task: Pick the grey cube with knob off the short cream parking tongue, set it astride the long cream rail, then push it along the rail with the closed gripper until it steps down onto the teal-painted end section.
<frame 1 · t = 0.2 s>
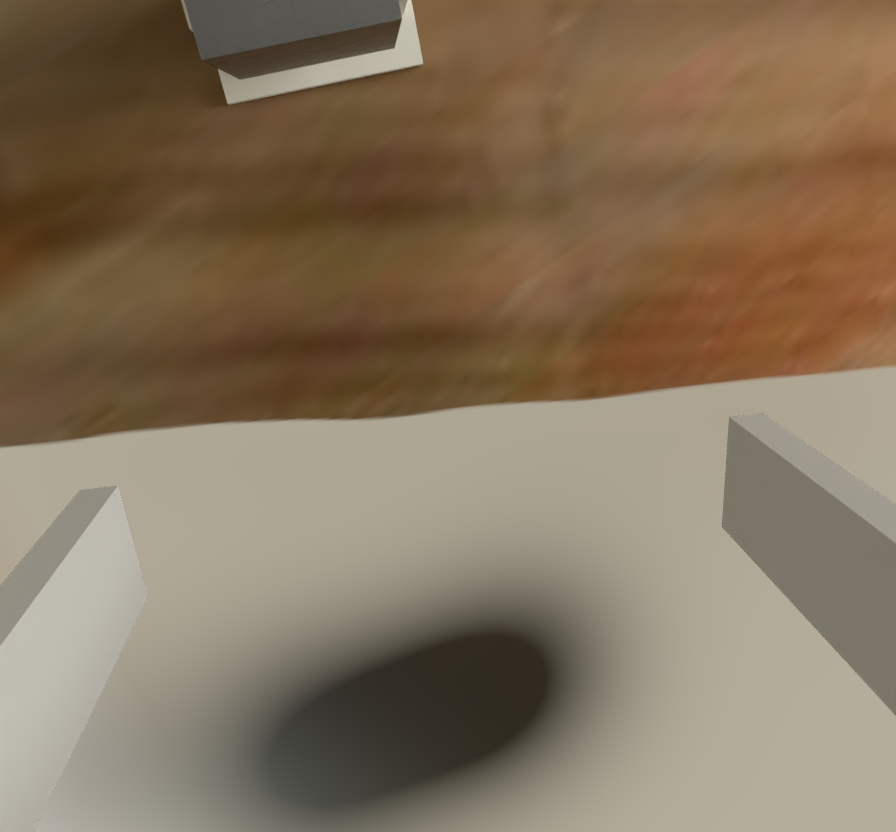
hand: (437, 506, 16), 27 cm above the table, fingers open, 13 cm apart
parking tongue: (308, 8, 36), on the table
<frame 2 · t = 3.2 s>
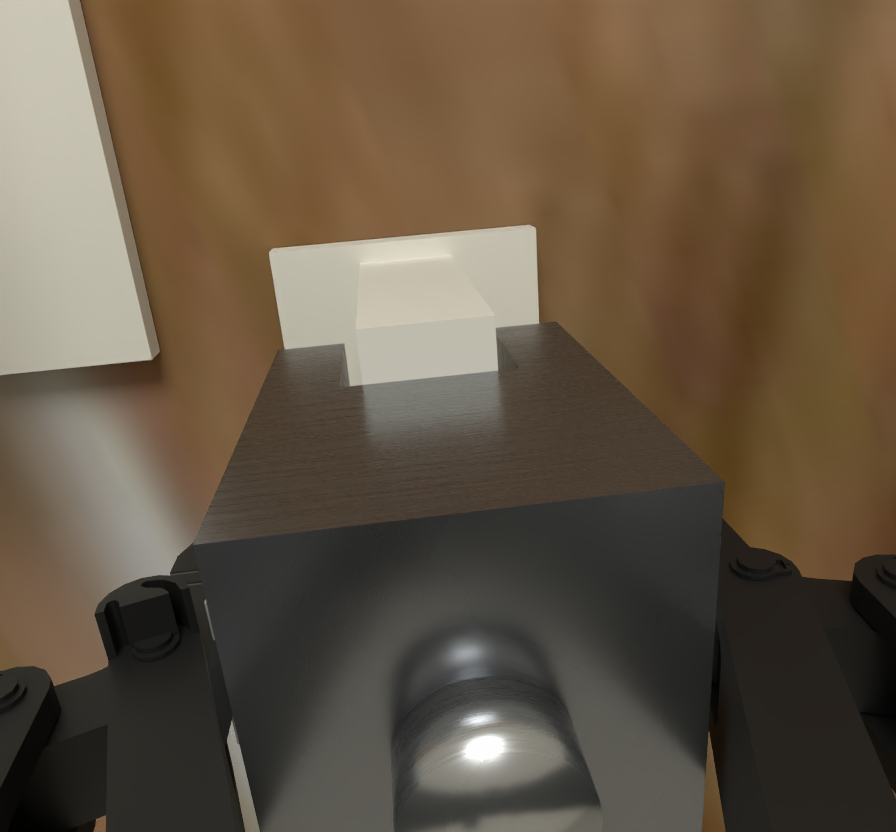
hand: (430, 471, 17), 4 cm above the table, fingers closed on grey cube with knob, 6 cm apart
grey cube with knob: (432, 482, 17), point 5 cm above the table, touching gripper, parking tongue
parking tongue: (419, 408, 21), on the table
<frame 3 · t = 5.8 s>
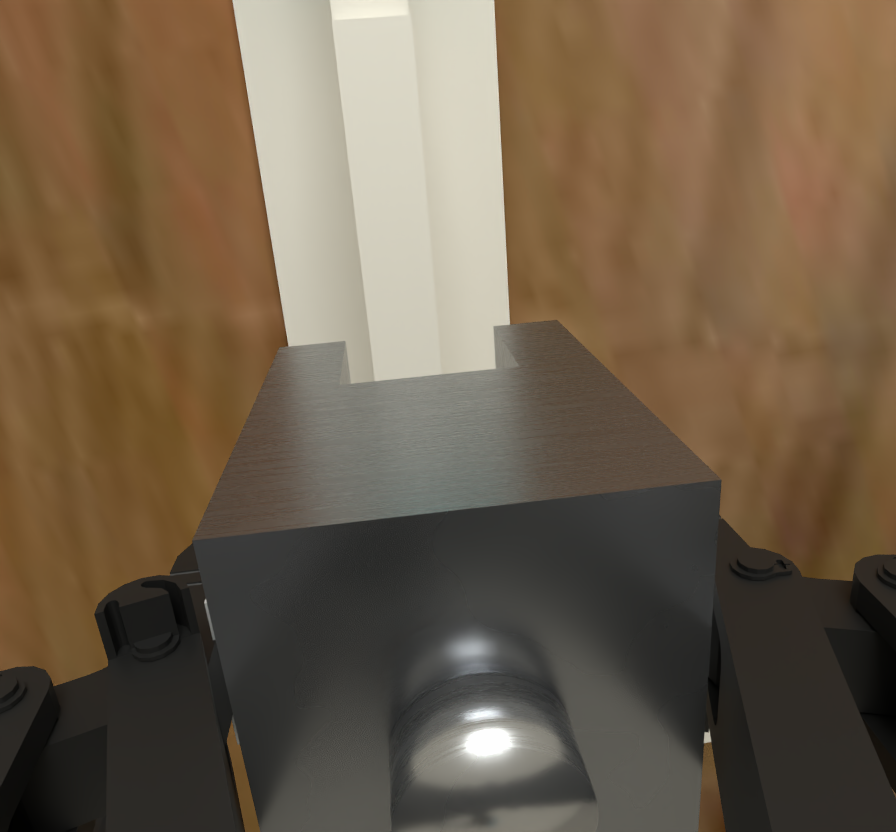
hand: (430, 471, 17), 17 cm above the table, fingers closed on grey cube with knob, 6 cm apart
grey cube with knob: (433, 479, 17), point 17 cm above the table, touching gripper
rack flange: (386, 203, 31), on the table
when the fingers open (6 cm above the table, at t = 7.7 s): grey cube with knob drops 1 cm, resting on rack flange.
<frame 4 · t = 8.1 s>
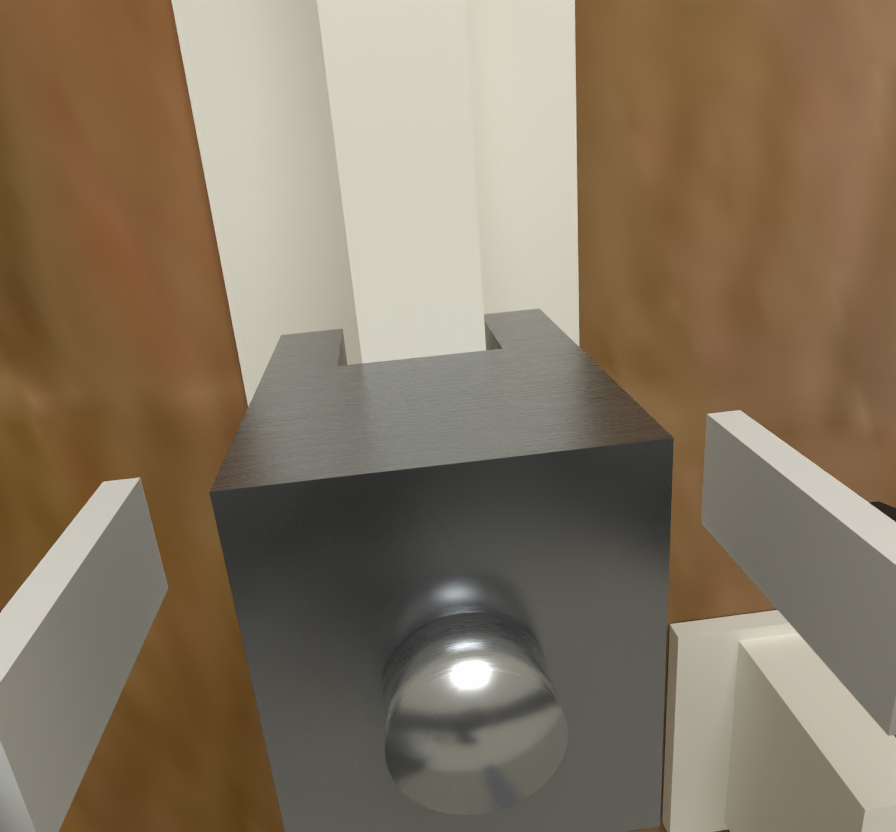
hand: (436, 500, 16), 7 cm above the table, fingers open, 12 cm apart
grey cube with knob: (425, 459, 18), point 5 cm above the table, touching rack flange
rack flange: (400, 231, 21), on the table
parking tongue: (751, 716, 29), on the table
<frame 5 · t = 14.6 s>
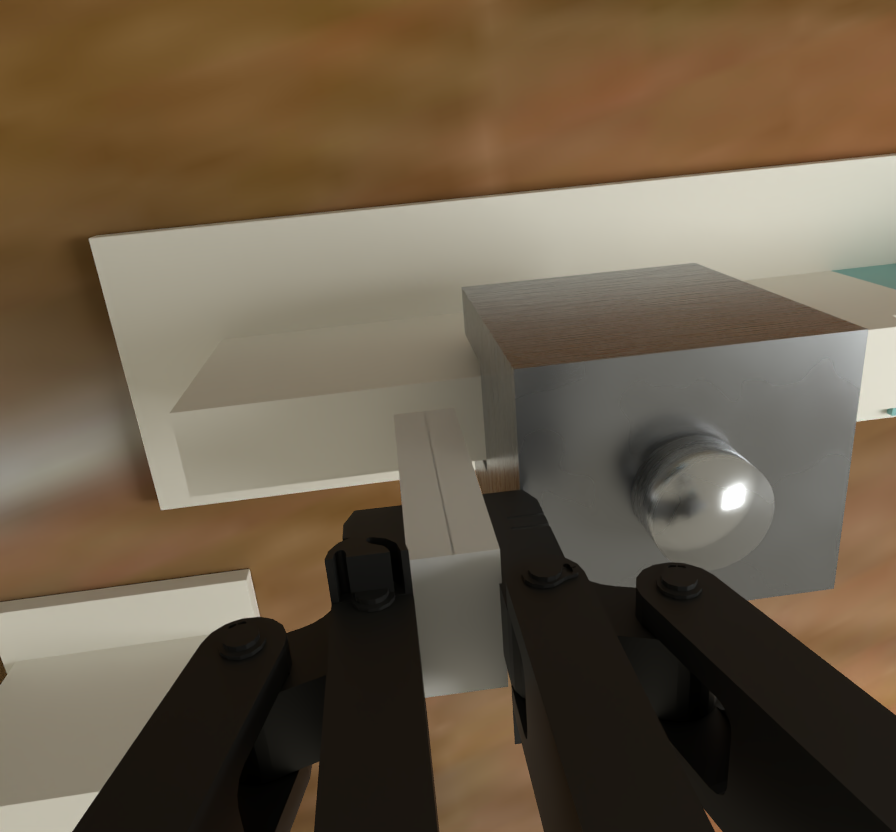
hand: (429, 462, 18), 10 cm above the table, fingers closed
grey cube with knob: (581, 371, 22), point 5 cm above the table, touching gripper, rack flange
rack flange: (610, 322, 27), on the table
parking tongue: (144, 656, 30), on the table
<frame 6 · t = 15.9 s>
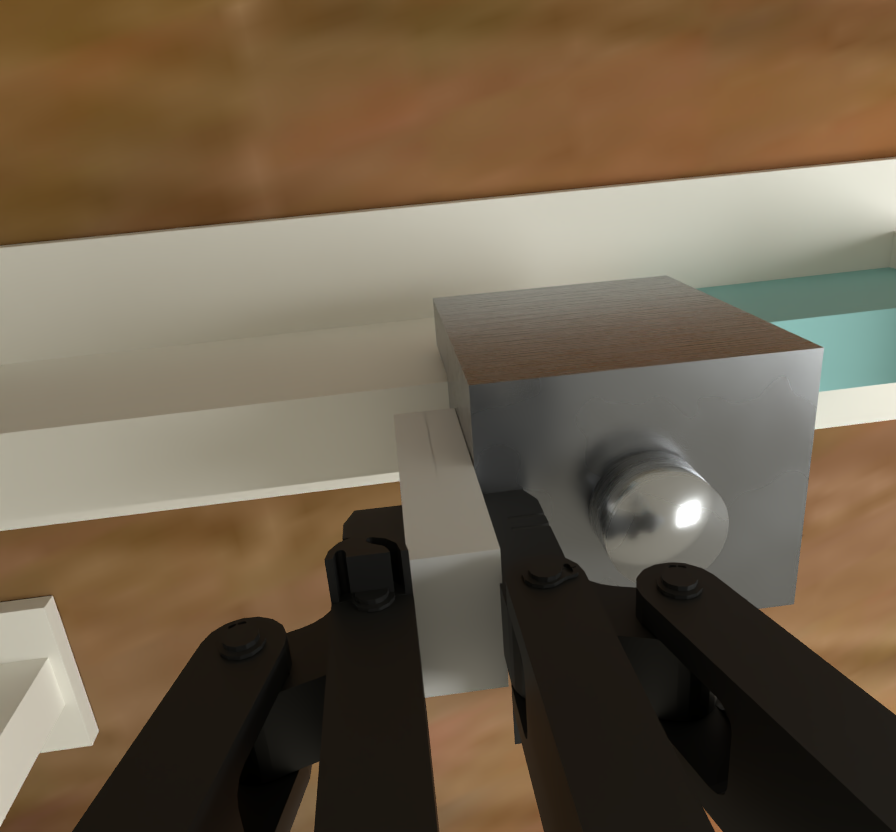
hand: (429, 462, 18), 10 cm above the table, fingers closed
grey cube with knob: (553, 382, 22), point 5 cm above the table, touching gripper
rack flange: (405, 347, 27), on the table
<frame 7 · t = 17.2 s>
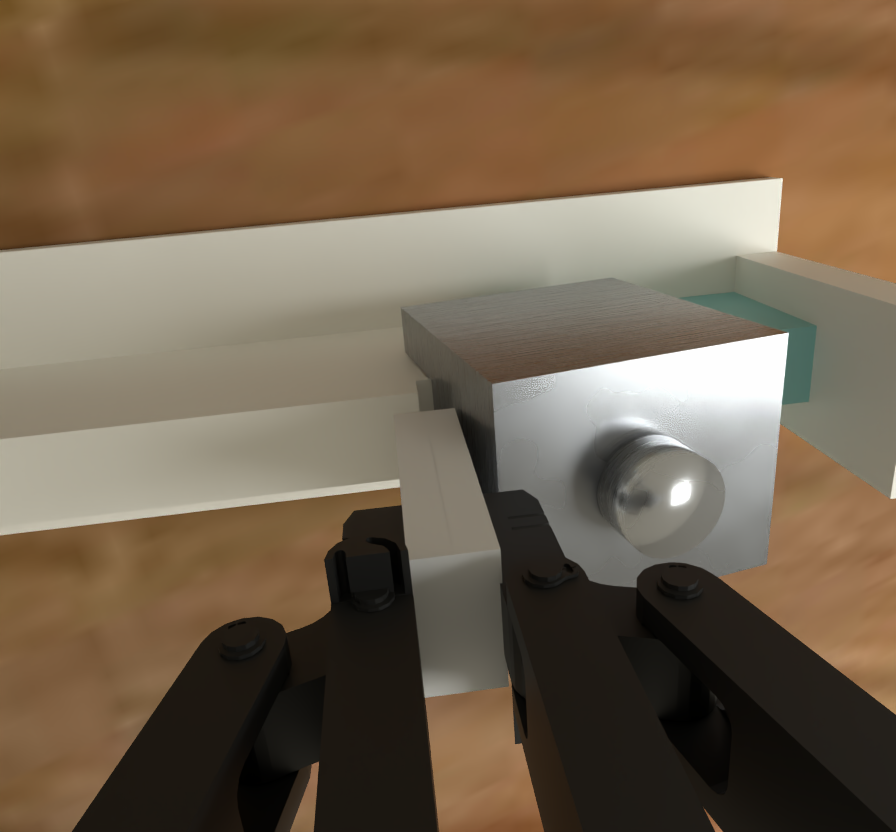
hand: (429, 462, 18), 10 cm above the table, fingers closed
grey cube with knob: (514, 383, 24), point 4 cm above the table, tilted 11°, touching gripper, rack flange
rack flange: (241, 371, 26), on the table
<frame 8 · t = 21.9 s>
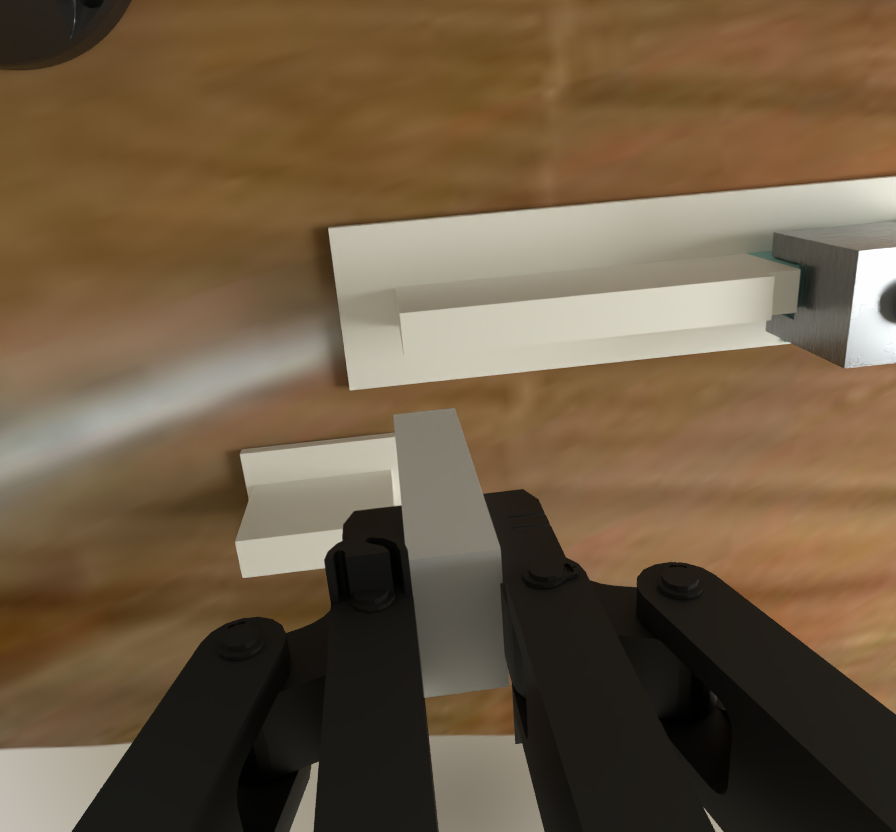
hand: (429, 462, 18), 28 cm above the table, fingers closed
grey cube with knob: (824, 277, 44), point 3 cm above the table, touching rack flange
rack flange: (616, 282, 46), on the table
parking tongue: (326, 488, 49), on the table
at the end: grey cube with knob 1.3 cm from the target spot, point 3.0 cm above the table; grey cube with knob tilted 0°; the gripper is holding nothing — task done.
